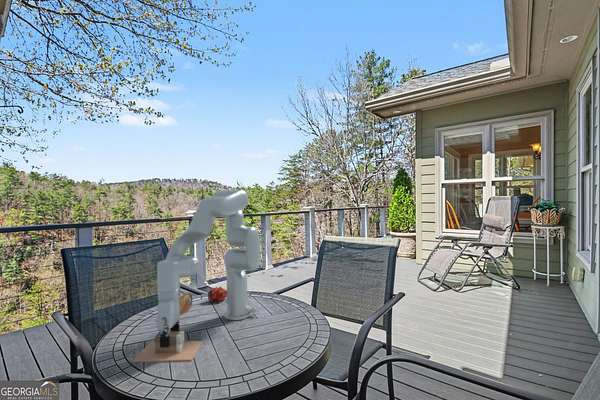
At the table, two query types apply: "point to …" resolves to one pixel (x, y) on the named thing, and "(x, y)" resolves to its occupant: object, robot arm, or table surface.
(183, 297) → the tin
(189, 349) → the mat
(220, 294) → the dragon fruit
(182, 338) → the card box
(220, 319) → the table surface
